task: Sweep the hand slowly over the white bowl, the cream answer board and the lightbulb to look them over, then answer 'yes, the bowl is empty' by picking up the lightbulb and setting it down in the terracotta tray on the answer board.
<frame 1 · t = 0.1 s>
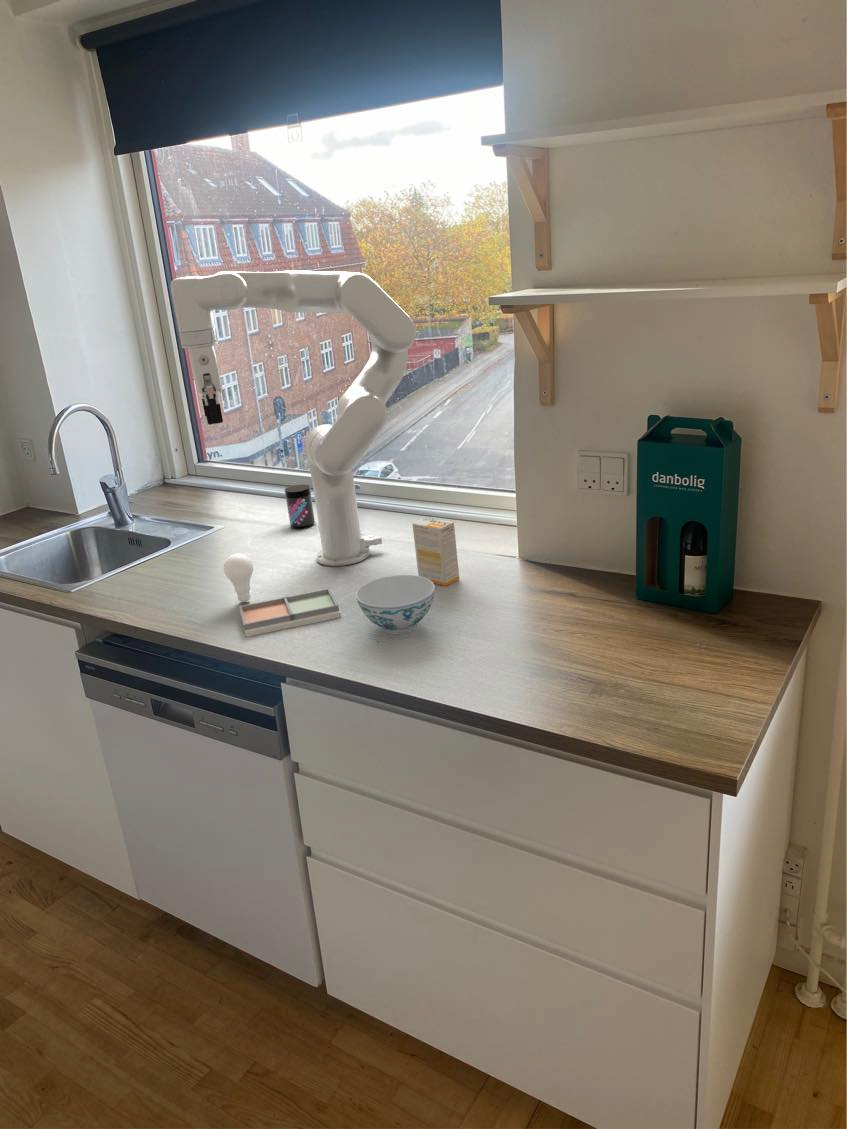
hand: (214, 419, 188), 37 cm above the worktop, tool pointing down, fingers open, 9 cm apart
supplement box: (439, 580, 188), on the worktop
supplement container: (303, 526, 233), on the worktop
answer board: (289, 615, 177), on the worktop
lightbulb: (245, 603, 186), on the worktop
chinaware: (399, 627, 167), on the worktop
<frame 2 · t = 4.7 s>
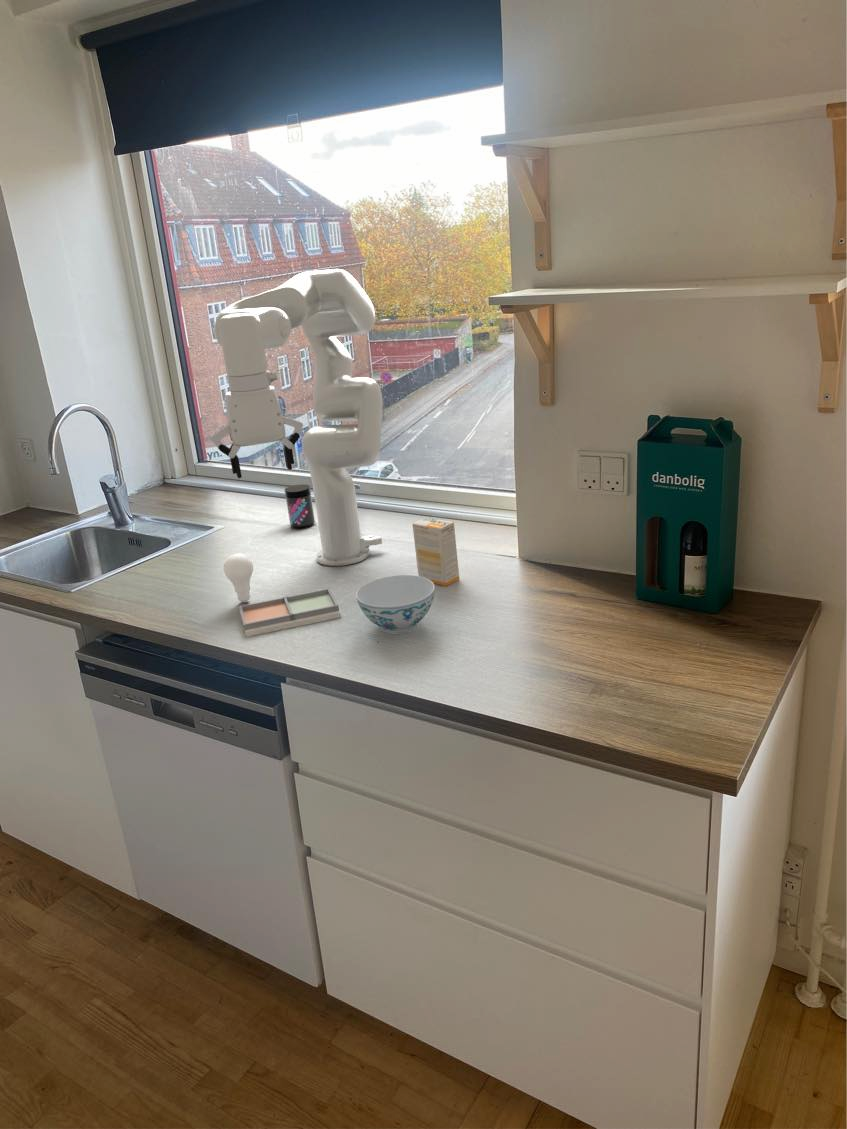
hand: (264, 472, 167), 30 cm above the worktop, tool pointing down, fingers open, 9 cm apart
nothing on the worktop moved.
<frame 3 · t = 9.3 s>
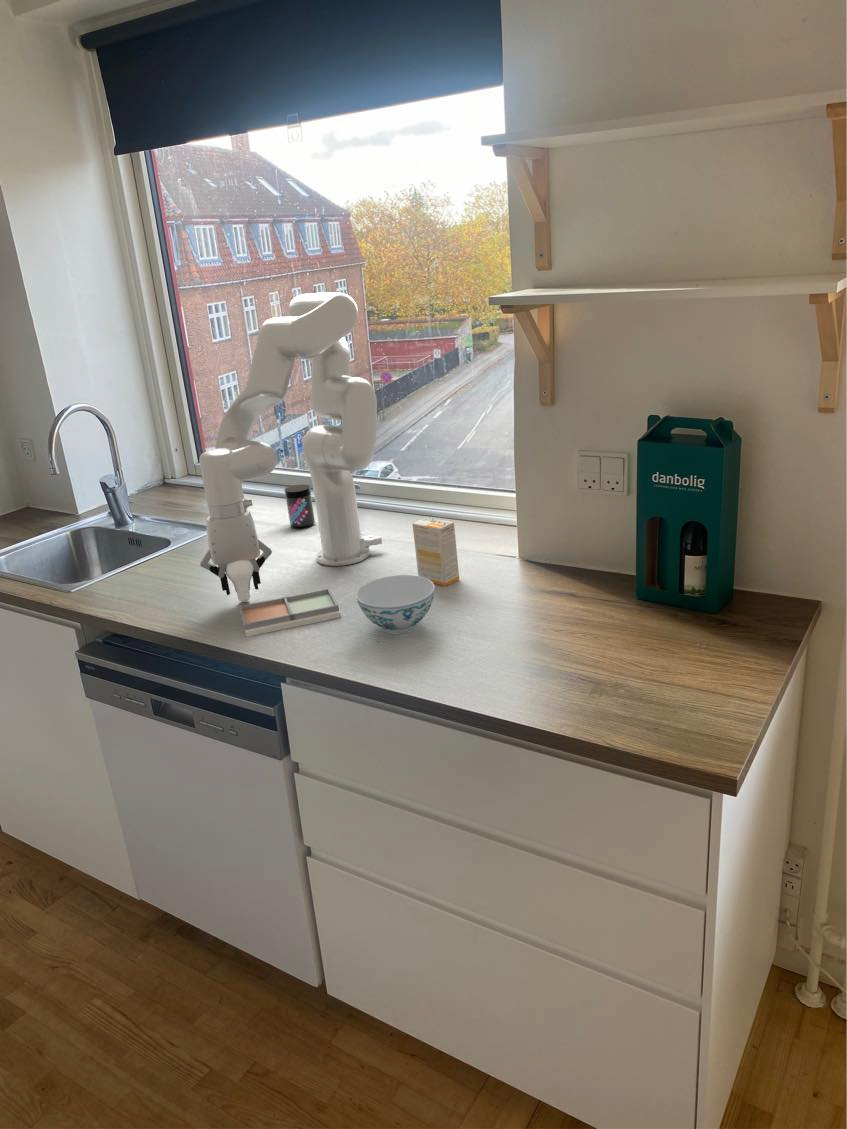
hand: (242, 589, 185), 3 cm above the worktop, tool pointing down, fingers closed on lightbulb, 5 cm apart
lightbulb: (244, 602, 186), on the worktop, touching gripper
everything else where it was.
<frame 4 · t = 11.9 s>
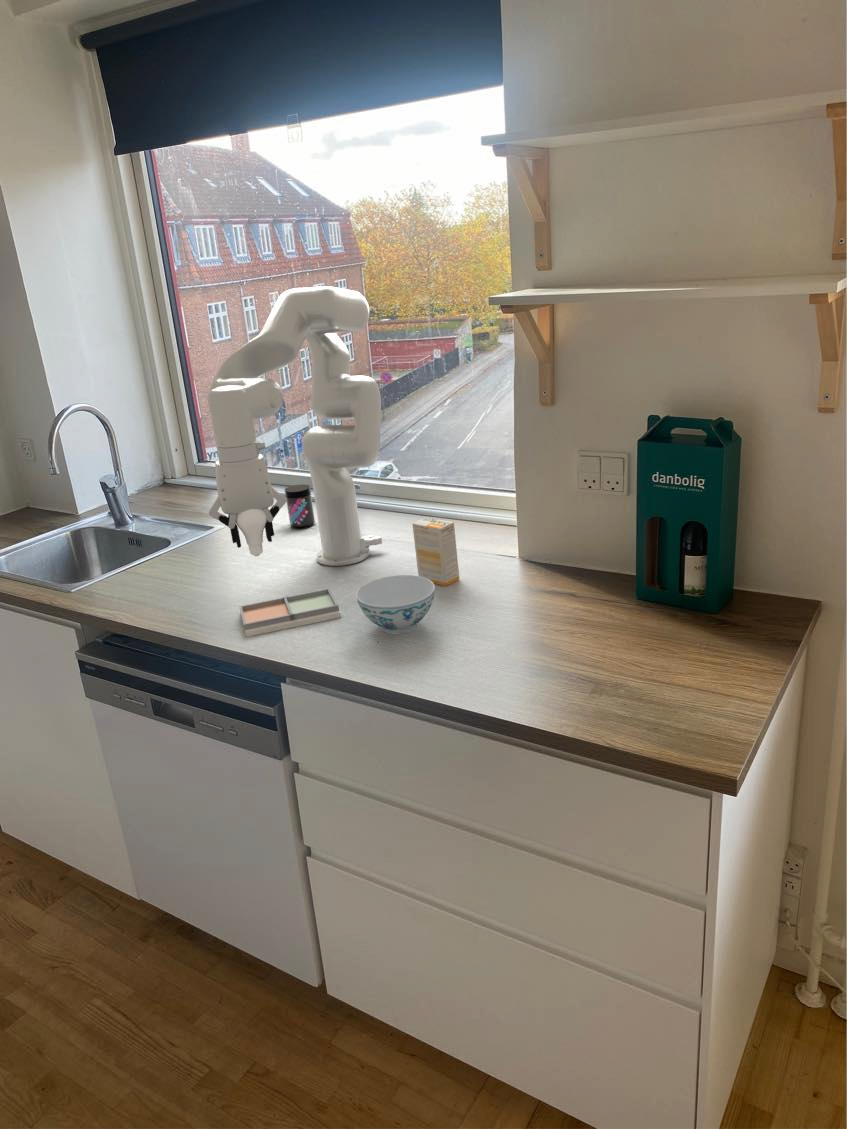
hand: (254, 541, 170), 17 cm above the worktop, tool pointing down, fingers closed on lightbulb, 5 cm apart
lightbulb: (257, 556, 172), point 14 cm above the worktop, touching gripper
everything else where it was.
when the fingers open (5 cm above the worktop, at t = 14.7 s): lightbulb drops 1 cm, resting on answer board.
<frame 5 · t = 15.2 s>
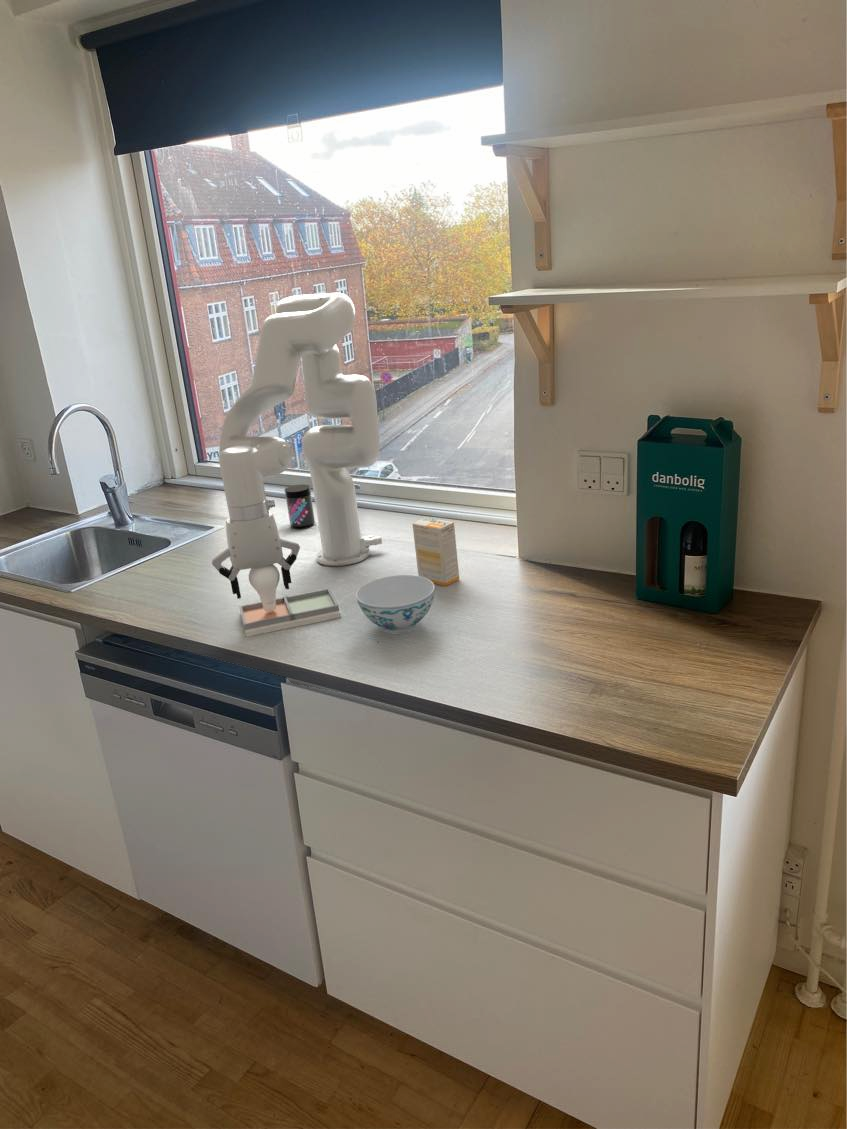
hand: (262, 591, 174), 6 cm above the worktop, tool pointing down, fingers open, 9 cm apart
lightbulb: (270, 613, 177), point 1 cm above the worktop, touching answer board
everything else where it was.
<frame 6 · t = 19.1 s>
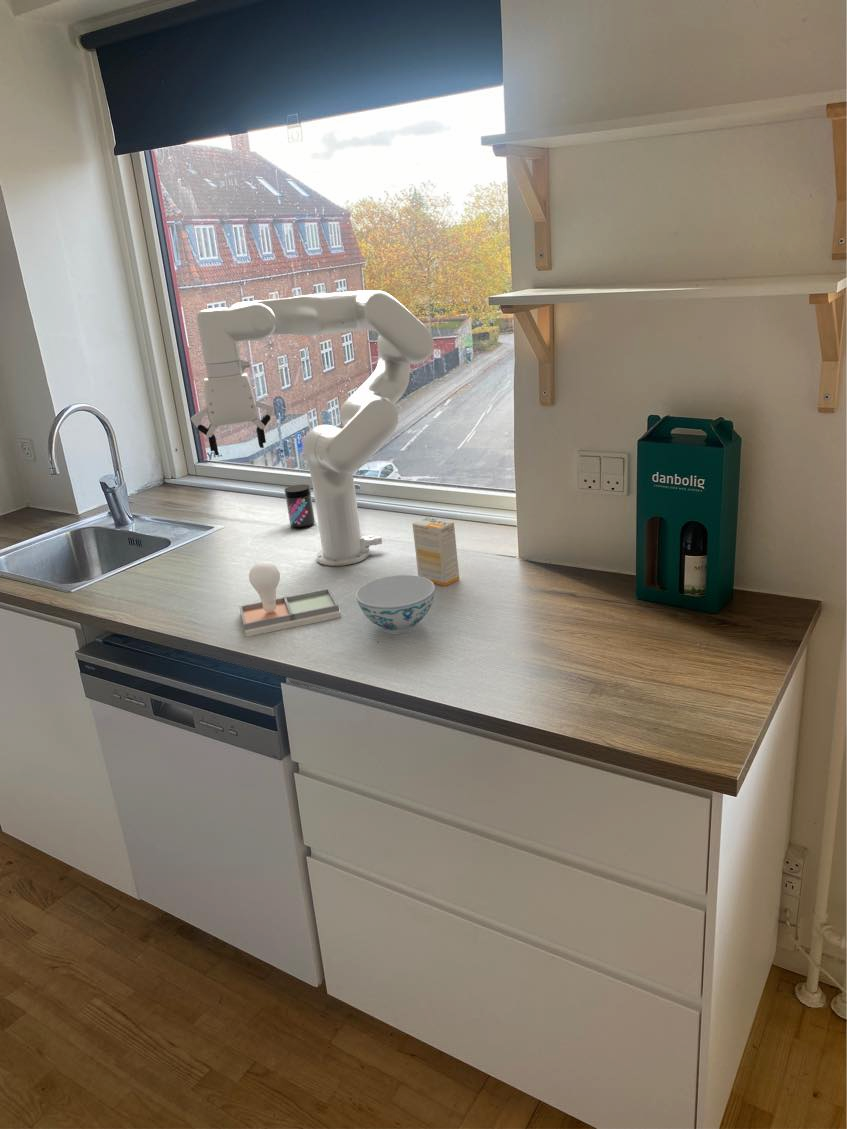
hand: (239, 450, 187), 30 cm above the worktop, tool pointing down, fingers open, 9 cm apart
nothing on the worktop moved.
at the end: lightbulb inside the target area on the answer board (1.3 cm from its centre), point 1.0 cm above the answer board's base; the gripper is holding nothing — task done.
